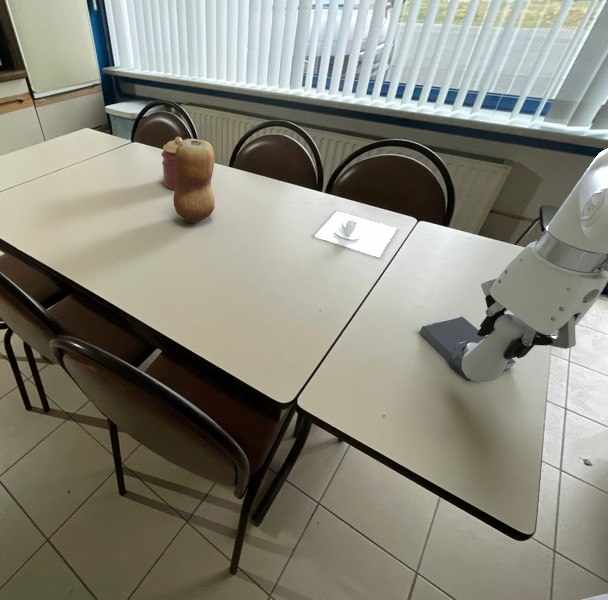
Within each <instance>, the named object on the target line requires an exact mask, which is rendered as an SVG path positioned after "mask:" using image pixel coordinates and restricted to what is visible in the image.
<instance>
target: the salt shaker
mask: <svg viewBox="0 0 608 600" xmlns="http://www.w3.org/2000/svg"><path fill="white" fill-rule="evenodd" d="M527 327H528V324H526V323H525V322H523V321H522V320H521V319H519V318H518V317H517V316H515V315H514V314H513V313H505V314H503V315H501V316H500V317H498V318H497V320H496V321H495V324H494V328H495V330H494V331H493V332H491V333H490V334H489V335H486V337H485V338H484V339H483V340H482V341H480V342H479V343H478V344H477V345H475V346H474V347H473V348H472V349H470V350H469V351H468V352H467V353H465V354H464V357H463V360H462V370H463V372H464V373H465V375H466V377H467V378H469V379H471V380H470V381H473V382H476V383H478V384H482V383H486V382H492V381H494V380H497V379H499V378H500V377H501V376H502V375H503V373H504V371H505V370H504V369H505V367H506V365H507V362H508V360H509V359H508V360H506V359H505V358H504V356H503V355H504V354H505V353H506V351H507V350H508V349H509V348H510V346H511V345H512V344H513V343H514V342H515V341H516V340H518V339H521V338H523V336H524V334H525V331H526V329H527Z"/></svg>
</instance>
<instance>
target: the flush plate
mask: <svg viewBox="0 0 608 600" xmlns="http://www.w3.org/2000/svg"><path fill="white" fill-rule="evenodd" d="M479 330H480V329H478V328H477V327H476V326H475V325H474V324H473V323H471V322H469V320H468V319H466V318H465V317H464V316H463V315H462V316H456V317H452V318H449V319H445V320H441V321H437V322H436V321H435V322H432V323H428V324H423V325H421V328H420V330H419V331H418V333H419V334H420V335H421V336H422V337H423V338H424V340H426V341H427V342H428V344H430V345H431V346H432V347H433V349H435V350H436V351H437V352H438V353H439V354H440V355H441V356H442V357H443V358H444V359H445V361H447V362H448V363H449V365H451V366H452V368H454V369H455V370H456V371H457V372H458V373H459V374H460V375H461V376H462V377H463V378H464V379H465V380H466V381H467V382H469V381H472V380H471V379H469V378H467V377H466V375H465V373H464V372H463V370H462V360H463V357H464V354H463V350H464V349H465V348H466V346H467V345H468V344H469V343H479V342H480V341H482V340H483V339H484V338H485V337H487V335H486V336H483V337H481V336H478V335H477V332H478V331H479ZM516 362H517V361H515V359H514V358H511V359H509V360H508V362H507V365H506V367H505V369H504V371H506V370H510V369H511V368H513V366H514V365H515V364H516Z"/></svg>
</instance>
